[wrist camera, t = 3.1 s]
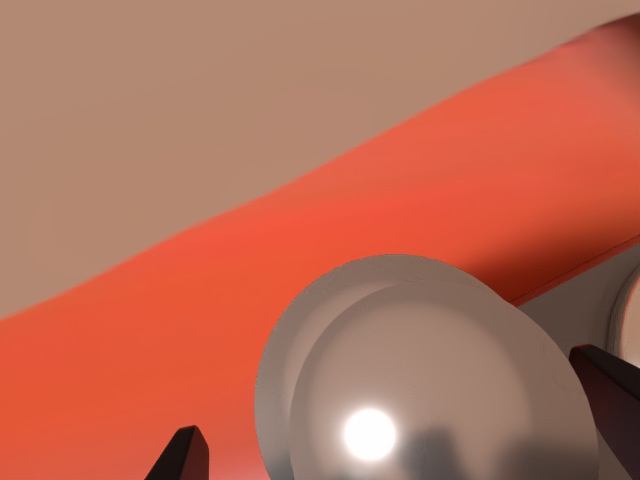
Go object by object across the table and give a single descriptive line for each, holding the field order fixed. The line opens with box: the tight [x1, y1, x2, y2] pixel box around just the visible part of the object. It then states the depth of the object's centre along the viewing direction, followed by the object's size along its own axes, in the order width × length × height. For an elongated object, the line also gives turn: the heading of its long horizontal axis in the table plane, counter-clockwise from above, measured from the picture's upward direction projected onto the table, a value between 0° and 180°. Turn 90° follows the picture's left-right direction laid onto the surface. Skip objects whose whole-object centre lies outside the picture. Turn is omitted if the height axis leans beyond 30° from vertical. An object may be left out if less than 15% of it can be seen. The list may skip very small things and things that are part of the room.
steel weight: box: [254, 254, 599, 480], centre depth 11 cm, size 5×5×14 cm
